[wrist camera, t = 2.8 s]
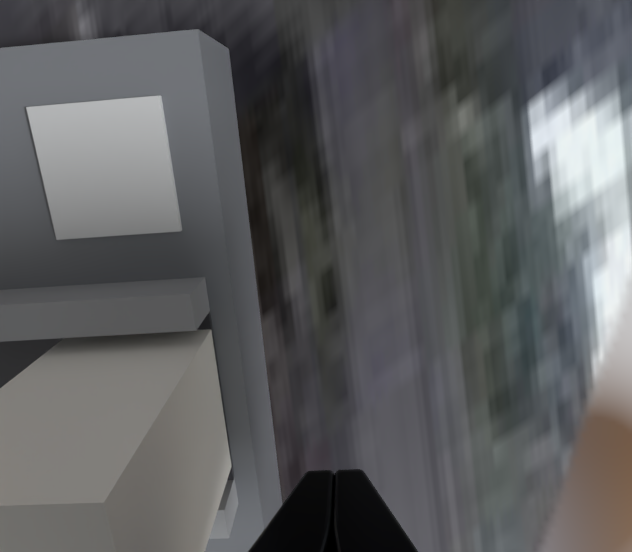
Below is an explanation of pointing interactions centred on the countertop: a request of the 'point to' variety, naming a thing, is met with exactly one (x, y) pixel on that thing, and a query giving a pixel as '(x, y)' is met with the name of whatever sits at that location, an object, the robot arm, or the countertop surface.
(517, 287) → the countertop surface
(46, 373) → the switch tab
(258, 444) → the switch board
